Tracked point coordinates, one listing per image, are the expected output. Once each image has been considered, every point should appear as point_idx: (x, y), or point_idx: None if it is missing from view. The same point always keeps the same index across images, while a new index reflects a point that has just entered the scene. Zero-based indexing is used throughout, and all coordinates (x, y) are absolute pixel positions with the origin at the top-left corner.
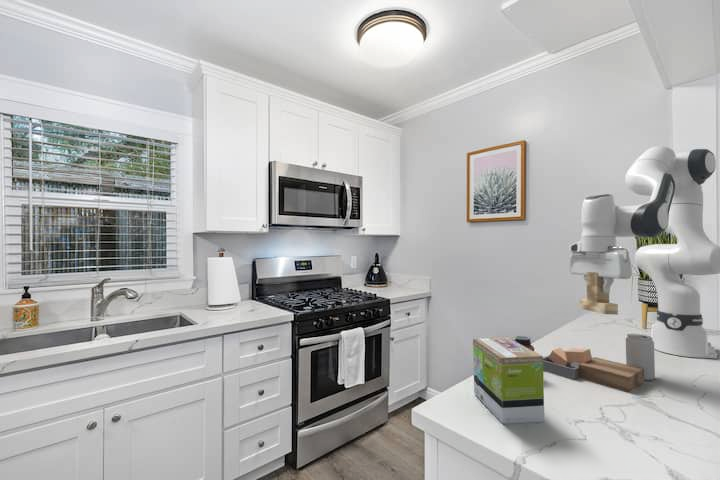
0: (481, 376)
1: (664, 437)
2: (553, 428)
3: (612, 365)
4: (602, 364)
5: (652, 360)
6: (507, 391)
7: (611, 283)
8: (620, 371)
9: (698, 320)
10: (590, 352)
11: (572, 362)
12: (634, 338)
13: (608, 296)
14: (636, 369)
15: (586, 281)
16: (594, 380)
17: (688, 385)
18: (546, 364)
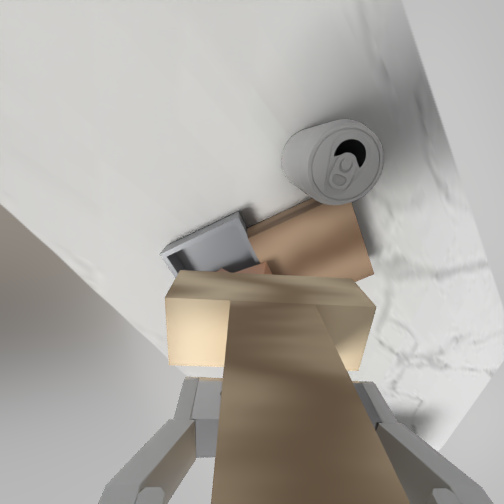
0: None
1: (461, 330)
2: (394, 414)
3: (309, 247)
4: (298, 264)
5: (355, 155)
6: None
7: (445, 468)
8: (344, 262)
9: None
10: (264, 271)
11: (225, 270)
12: (349, 201)
13: (326, 334)
14: (346, 216)
15: (165, 495)
16: None
17: (378, 86)
18: None
